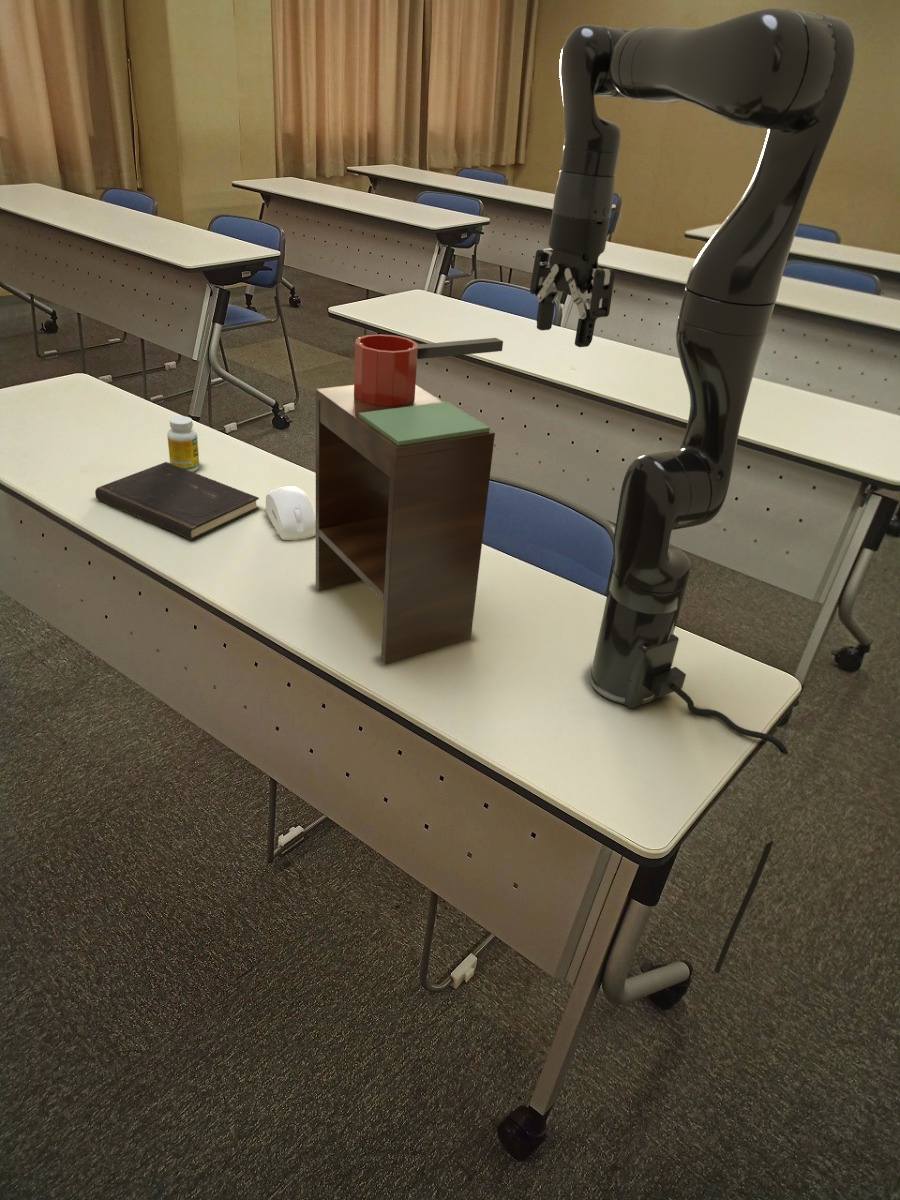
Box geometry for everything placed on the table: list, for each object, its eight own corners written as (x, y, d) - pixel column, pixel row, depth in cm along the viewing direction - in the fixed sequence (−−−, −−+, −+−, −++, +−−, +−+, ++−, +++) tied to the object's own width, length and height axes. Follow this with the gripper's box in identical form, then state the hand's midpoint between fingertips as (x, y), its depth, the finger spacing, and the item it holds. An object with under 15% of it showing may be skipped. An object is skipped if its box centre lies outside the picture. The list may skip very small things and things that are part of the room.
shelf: (470, 639, 121) (495, 433, 104) (384, 664, 114) (396, 448, 98) (395, 568, 136) (406, 378, 120) (315, 587, 129) (315, 388, 113)
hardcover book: (167, 473, 159) (166, 461, 158) (259, 509, 150) (258, 497, 148) (95, 500, 147) (94, 488, 146) (191, 541, 138) (189, 529, 136)
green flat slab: (489, 432, 105) (490, 427, 104) (398, 446, 98) (398, 441, 98) (446, 405, 111) (446, 401, 111) (358, 417, 105) (358, 412, 105)
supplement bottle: (171, 462, 163) (166, 414, 158) (200, 462, 165) (196, 414, 159) (169, 473, 159) (164, 425, 154) (199, 473, 160) (195, 425, 155)
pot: (510, 391, 119) (517, 341, 115) (371, 409, 108) (373, 354, 104) (479, 374, 124) (484, 326, 121) (343, 389, 114) (344, 336, 110)
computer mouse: (281, 543, 140) (280, 508, 137) (262, 509, 150) (261, 476, 146) (319, 538, 142) (319, 504, 139) (298, 505, 152) (297, 473, 149)
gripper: (525, 202, 113) (511, 326, 121) (595, 221, 103) (574, 354, 112) (569, 203, 117) (551, 323, 125) (640, 221, 107) (616, 350, 115)
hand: (562, 337), depth 118 cm, fingers open, 8 cm apart
